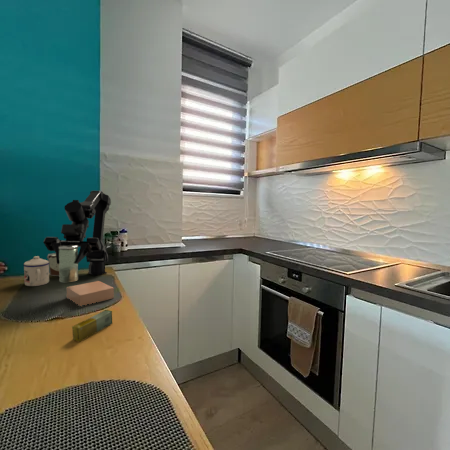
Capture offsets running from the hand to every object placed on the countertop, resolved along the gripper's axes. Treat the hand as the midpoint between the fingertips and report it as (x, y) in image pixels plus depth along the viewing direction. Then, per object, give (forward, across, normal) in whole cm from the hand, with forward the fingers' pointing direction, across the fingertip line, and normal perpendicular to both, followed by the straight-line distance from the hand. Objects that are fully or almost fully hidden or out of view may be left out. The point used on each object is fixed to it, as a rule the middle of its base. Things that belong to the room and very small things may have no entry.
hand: (67, 263), depth 99 cm
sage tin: (+4, 0, +6) cm, 7 cm away
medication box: (+28, +17, -8) cm, 33 cm away
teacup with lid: (-4, -19, +23) cm, 30 cm away
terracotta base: (+9, +7, +10) cm, 15 cm away
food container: (-15, -15, +34) cm, 40 cm away
